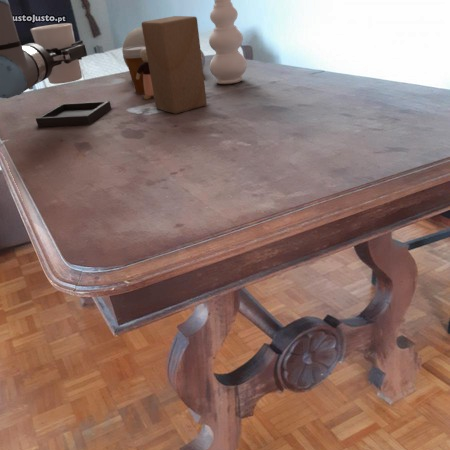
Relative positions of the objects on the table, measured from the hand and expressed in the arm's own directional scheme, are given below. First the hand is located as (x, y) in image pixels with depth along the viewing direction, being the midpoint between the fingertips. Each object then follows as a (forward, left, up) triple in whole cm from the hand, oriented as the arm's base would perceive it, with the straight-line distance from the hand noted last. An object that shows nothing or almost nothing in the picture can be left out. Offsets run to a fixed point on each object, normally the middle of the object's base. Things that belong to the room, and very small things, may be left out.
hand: (64, 48), depth 120 cm
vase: (+37, +27, -16) cm, 48 cm away
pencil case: (+19, +47, -16) cm, 53 cm away
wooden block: (+29, +1, -16) cm, 33 cm away
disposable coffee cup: (+12, +22, -16) cm, 29 cm away
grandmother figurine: (+17, +14, -16) cm, 27 cm away
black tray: (+1, -4, -16) cm, 16 cm away
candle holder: (+1, -4, -7) cm, 8 cm away
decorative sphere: (+6, +43, -16) cm, 46 cm away
